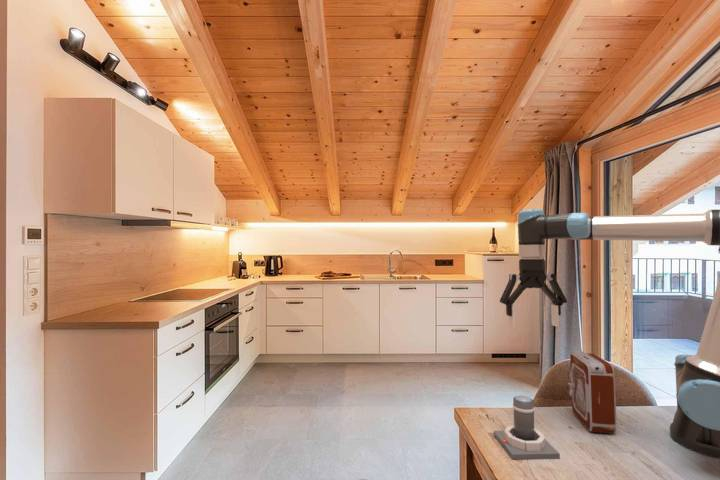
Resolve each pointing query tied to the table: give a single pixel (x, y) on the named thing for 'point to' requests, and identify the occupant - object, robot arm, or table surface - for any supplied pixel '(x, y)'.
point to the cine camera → (593, 392)
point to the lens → (524, 418)
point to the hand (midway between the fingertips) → (533, 326)
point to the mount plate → (526, 445)
